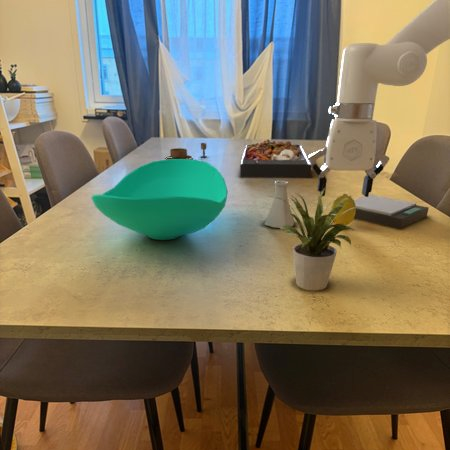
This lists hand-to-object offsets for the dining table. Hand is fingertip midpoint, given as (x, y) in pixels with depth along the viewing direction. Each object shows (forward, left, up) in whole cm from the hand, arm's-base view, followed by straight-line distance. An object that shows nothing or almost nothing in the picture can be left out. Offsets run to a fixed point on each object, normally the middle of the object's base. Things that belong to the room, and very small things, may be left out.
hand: (343, 195), depth 97 cm
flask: (+12, +8, -8) cm, 16 cm away
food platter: (+63, -49, -8) cm, 80 cm away
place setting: (+96, -32, -8) cm, 101 cm away
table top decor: (+25, +32, -8) cm, 41 cm away
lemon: (0, 0, -8) cm, 8 cm away
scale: (-1, -16, -8) cm, 18 cm away
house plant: (-13, +31, -8) cm, 34 cm away
